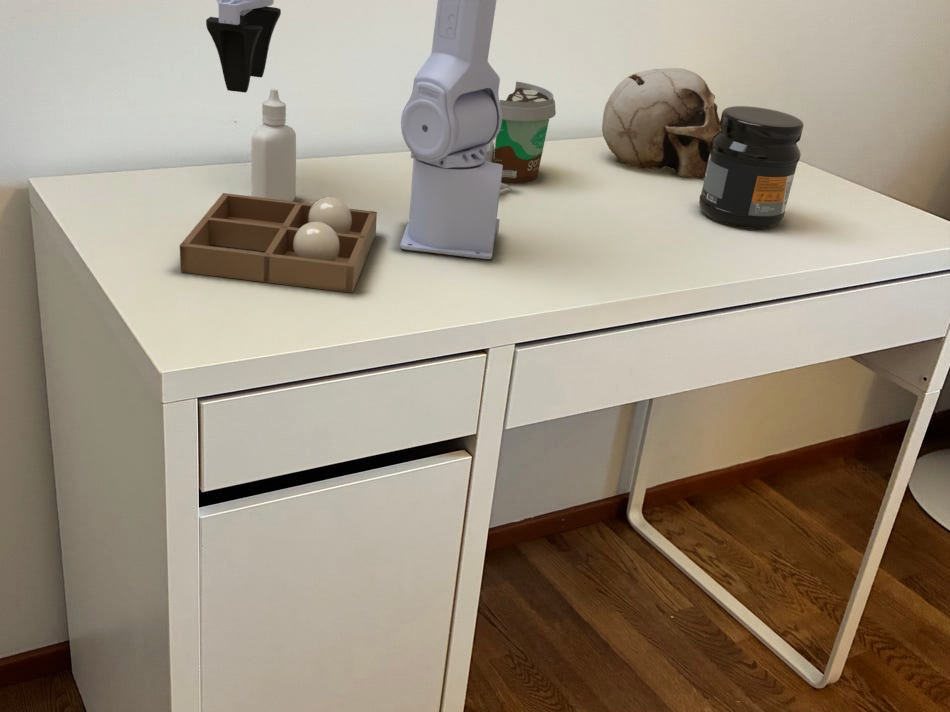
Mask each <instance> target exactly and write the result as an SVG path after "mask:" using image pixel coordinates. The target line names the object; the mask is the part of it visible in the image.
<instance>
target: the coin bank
mask: <svg viewBox="0 0 950 712" xmlns="http://www.w3.org/2000/svg"><path fill="white" fill-rule="evenodd" d="M715 99H716V95H715V94H714V93H713V92H712V91H711V90H710V87H709V86H708V84H707V82H706V80H705V79H704V78H702V76H700V75H699V74H698V73H696V72H694V71H692V70H689V69H686V68H678V67H668V68H652V69H646V70H643V71H638V72H635V73H633V74H631V75H628V76H626V77H625V78H624V79H622V80H621V81H620V82H619V83H618V84H617V85H616V86H615V88H614V89H613V91H612V92H611V94H610V96H609V97H608V99H607V100H606V103H605V106H604V109H603V115H602V125H601V132H602V136H603V139H604V141H605V143H606V145H607V147H608V149H609V150H610V151H611V153H612V154H613V155H615V158H616V159H617V161H619V162H620V163H623V164H625V165H629V166H630V167H636V168H637V169H663V168H666V167H667V168H669V169H672V170H674V171H675V172H676V175H678V176H680V177H684V178H687V177H690V176H694V177H700V178H705V174H706V169H707V165H708V160H709V156H710V151H711V141H712V138H713V137H714V136H715V135H716V134H717V133H718V132H719V131H721V128H720V127H719V125H720V120H721V118H720V117H719V113H718V104H717V103H715Z"/></svg>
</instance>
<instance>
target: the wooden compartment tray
mask: <svg viewBox="0 0 950 712" xmlns="http://www.w3.org/2000/svg"><path fill="white" fill-rule="evenodd" d="M313 204H314V203H308V202H300V201H285V200H276V199H268V198H260V197H252V196H251V195H243V194H234V193H226V192H223V193H222V194H221V195H220V196H219V197H218V199H217V200H216V201H215V202H214V203H213V205H212V206H211V207H210V208H209V209H208V211H207V212H206V213H205V214H204V215H203V217H202V218H201V219H200V220H199V222H198V223H197V224H196V225H195V226H194V227H193V229H192V230H191V231H190V232H189V233H188V235H186V237H185V238H184V239H183V241H182V242H181V243H180V244H179V259H180V260H179V261H180V264H179V265H180V273H186V274H195V275H203V276H212V277H219V278H227V279H236V280H244V281H253V282H261V283H268V284H275V285H276V284H277V285H286V286H292V287H301V288H309V289H316V290H317V289H318V290H326V291H336V292H342V293H350V294H353V293H354V290H355V288H356V285H357V283H358V280H359V277H360V276H361V273H362V271H363V268H364V266H365V263H366V260H367V258H368V256H369V253H370V251H371V249H372V246H373V243H374V241H375V239H376V236H377V217H378V212H377V211H373V210H365V209H357V208H350V207H348V208H349V210H350V212H351V215H352V225H351V229H350V231H349V232H348V234H343V233H336V234H337V236H338V238H339V242H340V250H339V254H338V257H337V258H336V260H335V261H326V260H318V259H309V258H301V257H296V255H295V252H294V249H293V240H294V237H295V234H296V232H297V231H298V230H299V228H300V227H302V226H303V225H305V224H307V223H308V215H309V211H310V209H311V207H312V205H313Z"/></svg>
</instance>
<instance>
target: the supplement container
mask: <svg viewBox="0 0 950 712" xmlns="http://www.w3.org/2000/svg"><path fill="white" fill-rule="evenodd" d="M804 126H805V125H804V122H803V121H802V120H801V119H800V118H799V117H797V116H795V115H792V114H789V113H786V112H783V111H779V110H775V109H770V108H765V107H757V106H747V105H736V106H735V105H734V106H729V107H728V106H727V107H726V108H723V110H722V112H721V116H720V125H719V127H720V128H721V131H719V132H718V133H717V134H716V135H715V136H714V137H713V138H712V141H711V151H710V156H709V160H708V165H707V169H706V174H705V177H704V179H703V184H702V189H701V193H700V195H699V199H698V205H699V208H700V210H701V211H702V212H703V214H705V215H706V216H707V217H708V218H710V219H712V220H714V221H716V222H719V223H721V224H724V225H727V226H732V227H736V228H743V229H754V230H755V229H758V230H760V229H768V228H772V227H775V226H777V225H779V224H780V223H782V221H783V219H784V217H785V215H786V208H787V205H788V201H789V197H790V192H791V188H792V185H793V182H794V179H795V173H796V169H797V166H798V163H799V162H800V159H801V149H800V148H799V146H798V143H799V142H800V141H801V137H802V134H803V130H804Z"/></svg>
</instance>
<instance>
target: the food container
mask: <svg viewBox="0 0 950 712" xmlns="http://www.w3.org/2000/svg"><path fill="white" fill-rule="evenodd" d="M499 102H500V107H501V111H502V124H501V128H500V131H499V133H498V135H497V137H496V138H495V143H494V147H495V153H494V163H497V164H501V165H503V169H502V178H501V183H503V184H509V185H514V184H515V185H516V184H517V185H518V184H527V183H532V182H534V181H536V180H537V179H538V177H539V176H538V175H539V171H540V167H541V166H540V165H541V162H542V157H543V152H544V147H545V143H546V137H547V133H548V127H549V124H550V123H549V122H550V119H552V118H554V117H555V116H556V114H557V113H556V112H557V111H556V101H555V99H554V94H553V93H552V91H550V90H548V89H546V88H544V87H541V86H539V85H536V84H531V83H527V82H522V81H515V88H514V91H513V92H512V93H510V94H508V96H507V97H506V99H505V100H504V99H499Z"/></svg>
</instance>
